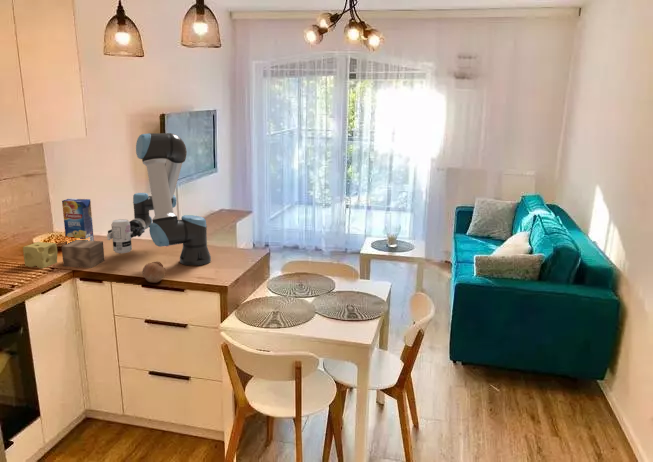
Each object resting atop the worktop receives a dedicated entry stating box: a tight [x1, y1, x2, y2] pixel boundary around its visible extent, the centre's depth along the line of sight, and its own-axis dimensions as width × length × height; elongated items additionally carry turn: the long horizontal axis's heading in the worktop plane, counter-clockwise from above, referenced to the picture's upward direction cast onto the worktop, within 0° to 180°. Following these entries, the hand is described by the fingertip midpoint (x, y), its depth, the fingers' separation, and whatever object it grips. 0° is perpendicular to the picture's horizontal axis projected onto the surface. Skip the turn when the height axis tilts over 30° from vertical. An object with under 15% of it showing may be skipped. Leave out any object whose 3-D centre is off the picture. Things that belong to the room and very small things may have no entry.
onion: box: [142, 261, 166, 284], centre depth 229 cm, size 10×9×10 cm
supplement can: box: [111, 218, 133, 254], centre depth 247 cm, size 8×8×15 cm
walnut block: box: [61, 240, 105, 269], centre depth 250 cm, size 14×12×10 cm
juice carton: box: [61, 197, 95, 241], centre depth 284 cm, size 12×8×24 cm, turn 81°
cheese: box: [22, 241, 58, 269], centre depth 247 cm, size 10×11×10 cm
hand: (117, 237), depth 242 cm, fingers closed on supplement can, 8 cm apart
